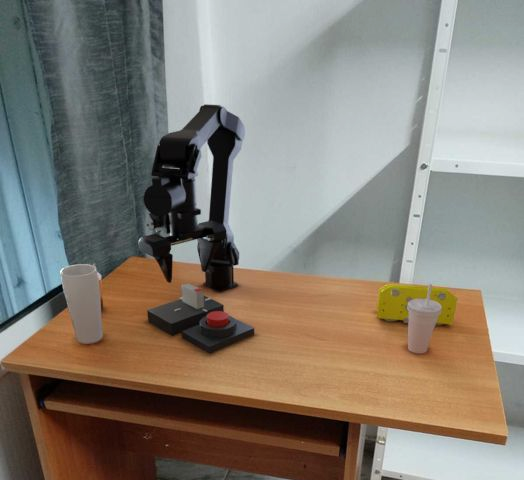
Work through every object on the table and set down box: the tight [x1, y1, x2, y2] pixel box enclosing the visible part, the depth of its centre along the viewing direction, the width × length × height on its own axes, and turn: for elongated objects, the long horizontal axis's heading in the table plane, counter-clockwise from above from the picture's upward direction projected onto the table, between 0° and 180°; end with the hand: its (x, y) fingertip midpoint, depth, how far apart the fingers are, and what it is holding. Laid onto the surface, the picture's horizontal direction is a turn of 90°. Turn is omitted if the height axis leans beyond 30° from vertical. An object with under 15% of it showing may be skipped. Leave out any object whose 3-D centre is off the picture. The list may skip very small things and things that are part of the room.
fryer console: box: [146, 294, 225, 337], centre depth 117 cm, size 14×10×3 cm
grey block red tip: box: [180, 282, 204, 309], centre depth 117 cm, size 6×2×4 cm, turn 44°
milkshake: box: [93, 263, 104, 313], centre depth 120 cm, size 4×5×10 cm
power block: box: [181, 315, 255, 355], centre depth 110 cm, size 12×9×4 cm
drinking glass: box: [60, 263, 104, 345], centre depth 106 cm, size 7×7×15 cm
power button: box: [207, 311, 230, 327], centre depth 109 cm, size 4×4×2 cm
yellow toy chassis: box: [376, 283, 458, 326], centre depth 117 cm, size 16×6×8 cm, turn 79°
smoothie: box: [407, 283, 442, 354], centre depth 104 cm, size 6×6×14 cm
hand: (186, 276), depth 115 cm, fingers open, 9 cm apart
